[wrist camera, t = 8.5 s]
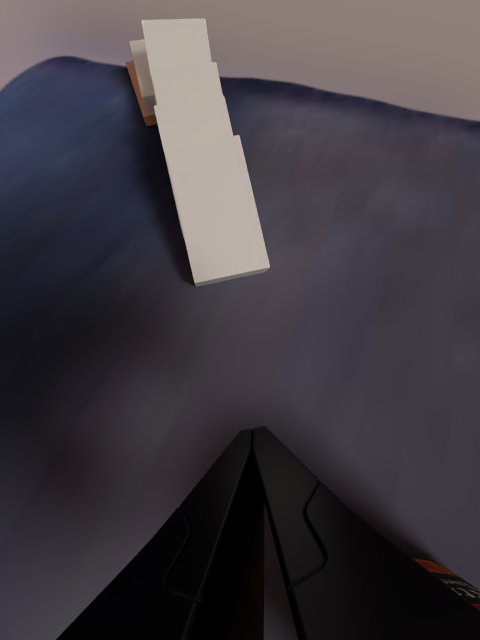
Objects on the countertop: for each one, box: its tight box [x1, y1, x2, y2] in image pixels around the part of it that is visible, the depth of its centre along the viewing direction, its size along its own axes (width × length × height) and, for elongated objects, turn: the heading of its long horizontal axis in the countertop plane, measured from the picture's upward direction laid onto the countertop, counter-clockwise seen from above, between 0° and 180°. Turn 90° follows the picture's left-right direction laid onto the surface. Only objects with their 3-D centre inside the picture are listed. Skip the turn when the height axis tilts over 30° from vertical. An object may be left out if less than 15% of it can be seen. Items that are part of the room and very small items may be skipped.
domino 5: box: [154, 96, 233, 237], centre depth 22 cm, size 2×6×10 cm
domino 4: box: [150, 63, 223, 105], centre depth 23 cm, size 2×6×10 cm
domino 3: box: [142, 19, 212, 105], centre depth 25 cm, size 2×6×10 cm
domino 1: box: [129, 39, 156, 115], centre depth 28 cm, size 2×6×10 cm
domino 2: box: [126, 61, 158, 126], centre depth 29 cm, size 2×6×10 cm
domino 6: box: [163, 135, 270, 287], centre depth 20 cm, size 2×6×10 cm
